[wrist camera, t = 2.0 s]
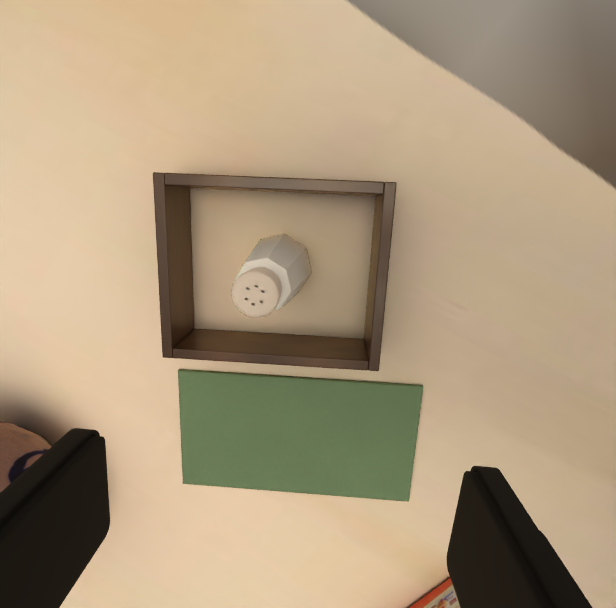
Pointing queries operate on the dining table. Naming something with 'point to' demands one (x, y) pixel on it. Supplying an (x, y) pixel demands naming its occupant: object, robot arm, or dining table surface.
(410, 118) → the dining table surface
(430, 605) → the cracker box
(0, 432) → the ceramic pitcher
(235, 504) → the dining table surface
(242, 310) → the pepper shaker
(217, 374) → the placemat
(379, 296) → the box
